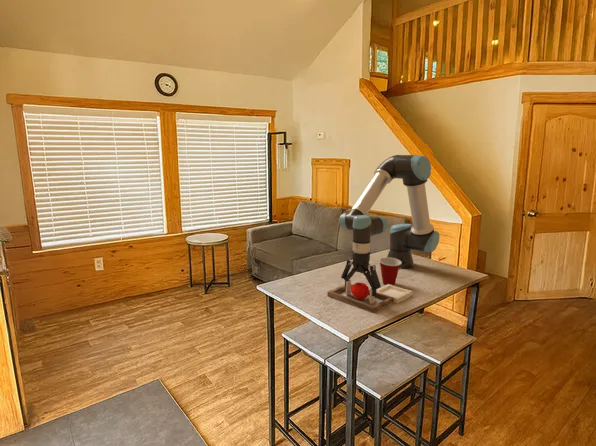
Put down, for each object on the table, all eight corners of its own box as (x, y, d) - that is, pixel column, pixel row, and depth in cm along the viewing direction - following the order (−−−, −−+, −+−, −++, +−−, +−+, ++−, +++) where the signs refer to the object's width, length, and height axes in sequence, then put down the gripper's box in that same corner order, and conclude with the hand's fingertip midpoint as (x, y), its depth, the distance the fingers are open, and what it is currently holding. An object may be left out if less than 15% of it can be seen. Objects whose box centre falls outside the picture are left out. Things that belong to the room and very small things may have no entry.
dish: (388, 288, 178) (388, 284, 177) (412, 295, 169) (412, 291, 168) (372, 295, 169) (372, 291, 169) (397, 303, 160) (397, 298, 160)
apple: (347, 298, 166) (347, 282, 165) (359, 294, 171) (359, 278, 170) (360, 304, 160) (360, 287, 159) (372, 299, 165) (373, 283, 163)
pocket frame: (348, 287, 179) (348, 283, 179) (393, 302, 162) (394, 297, 161) (327, 295, 169) (327, 291, 169) (373, 312, 152) (373, 308, 151)
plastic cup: (389, 289, 176) (390, 265, 174) (373, 282, 185) (374, 259, 182) (405, 284, 182) (406, 261, 179) (388, 278, 191) (389, 255, 188)
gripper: (333, 247, 167) (333, 293, 171) (380, 259, 150) (378, 309, 154) (344, 244, 172) (343, 288, 177) (390, 255, 155) (388, 303, 159)
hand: (359, 298), depth 165 cm, fingers open, 12 cm apart
